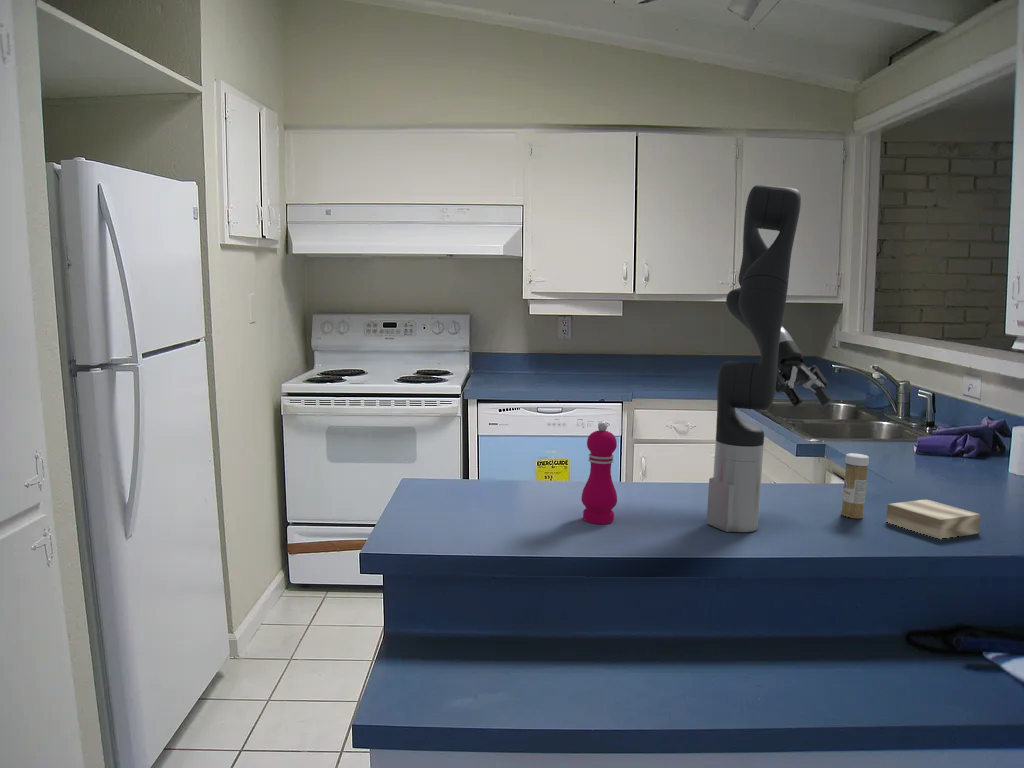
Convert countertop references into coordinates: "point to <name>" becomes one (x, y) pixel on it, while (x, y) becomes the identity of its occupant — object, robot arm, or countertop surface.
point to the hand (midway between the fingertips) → (813, 404)
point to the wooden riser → (933, 518)
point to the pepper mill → (600, 478)
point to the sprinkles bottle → (854, 485)
